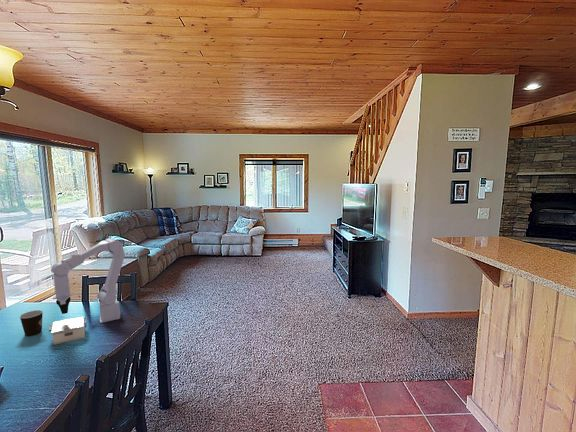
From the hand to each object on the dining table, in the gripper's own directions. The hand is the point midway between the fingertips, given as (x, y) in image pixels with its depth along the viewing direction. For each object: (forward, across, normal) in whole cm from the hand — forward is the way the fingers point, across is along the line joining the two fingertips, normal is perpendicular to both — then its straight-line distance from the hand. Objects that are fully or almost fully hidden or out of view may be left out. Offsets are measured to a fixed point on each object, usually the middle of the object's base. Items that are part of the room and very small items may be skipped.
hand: (64, 313), depth 150 cm
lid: (+5, +4, 0) cm, 7 cm away
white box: (+10, +4, +1) cm, 11 cm away
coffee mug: (+10, -10, -13) cm, 19 cm away
